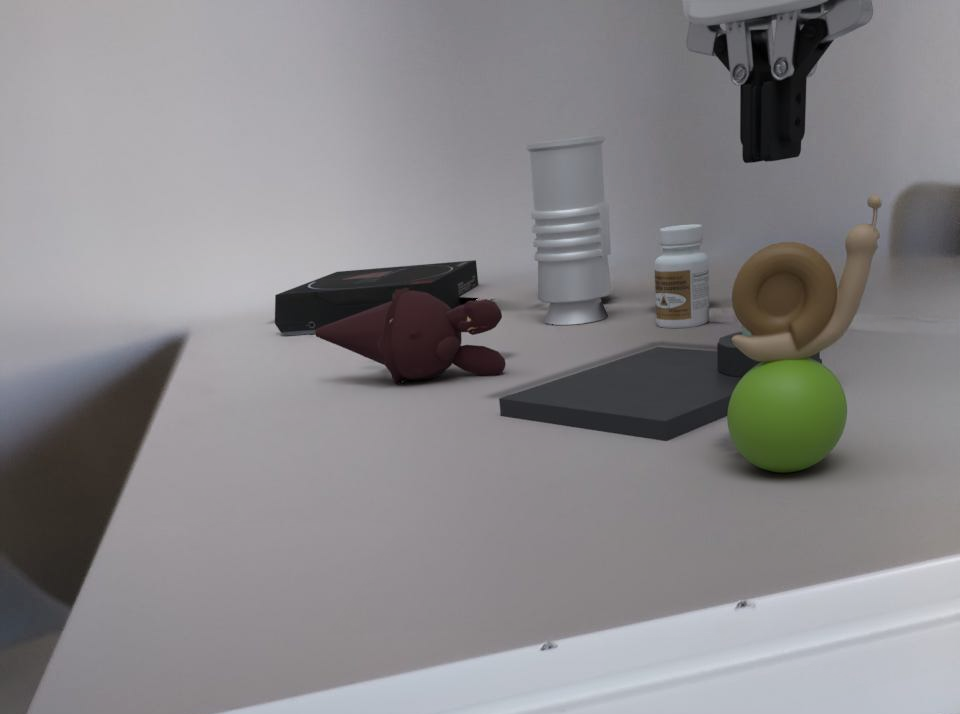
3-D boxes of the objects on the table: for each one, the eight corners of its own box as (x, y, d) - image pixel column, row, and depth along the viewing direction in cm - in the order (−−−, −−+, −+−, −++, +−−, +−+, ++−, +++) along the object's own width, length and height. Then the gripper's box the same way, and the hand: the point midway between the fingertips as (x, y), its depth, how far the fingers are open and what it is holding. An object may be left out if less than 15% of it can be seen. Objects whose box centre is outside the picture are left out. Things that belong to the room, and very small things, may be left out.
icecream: (285, 309, 74) (485, 316, 70) (325, 267, 79) (514, 272, 75) (305, 396, 78) (494, 408, 74) (342, 352, 84) (520, 360, 79)
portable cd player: (337, 308, 119) (331, 272, 117) (479, 298, 114) (475, 260, 113) (277, 336, 105) (269, 295, 103) (436, 325, 100) (431, 282, 98)
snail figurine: (874, 484, 47) (893, 198, 42) (729, 490, 48) (730, 214, 43) (857, 449, 52) (872, 189, 46) (725, 456, 53) (725, 204, 48)
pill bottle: (645, 328, 88) (642, 230, 84) (678, 318, 90) (676, 223, 87) (687, 331, 84) (685, 230, 81) (719, 320, 87) (719, 222, 84)
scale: (658, 363, 75) (657, 320, 73) (837, 379, 65) (839, 330, 64) (500, 417, 65) (495, 369, 64) (682, 444, 56) (681, 389, 54)
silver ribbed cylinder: (594, 325, 91) (583, 137, 85) (525, 326, 95) (510, 146, 88) (626, 311, 96) (619, 133, 90) (560, 312, 100) (549, 140, 93)
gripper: (964, -286, 49) (930, 144, 57) (698, -191, 59) (702, 161, 67) (885, -313, 44) (861, 157, 52) (613, -205, 55) (628, 174, 63)
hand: (771, 158), depth 60 cm, fingers closed
